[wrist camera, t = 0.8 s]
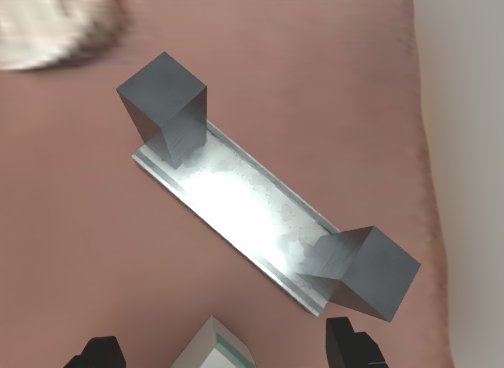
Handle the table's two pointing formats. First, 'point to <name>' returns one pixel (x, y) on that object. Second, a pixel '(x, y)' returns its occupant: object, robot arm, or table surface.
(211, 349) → the block
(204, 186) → the rail
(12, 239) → the table surface
